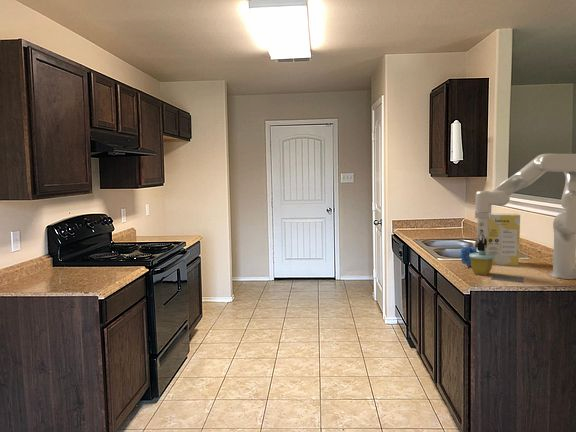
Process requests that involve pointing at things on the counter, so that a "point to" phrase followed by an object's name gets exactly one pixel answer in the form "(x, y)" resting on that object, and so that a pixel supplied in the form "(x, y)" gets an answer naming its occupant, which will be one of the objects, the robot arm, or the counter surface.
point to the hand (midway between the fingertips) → (482, 249)
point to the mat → (507, 278)
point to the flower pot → (481, 266)
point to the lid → (482, 255)
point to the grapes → (467, 255)
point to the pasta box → (504, 238)
